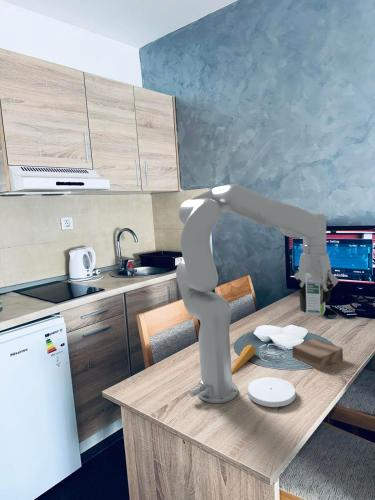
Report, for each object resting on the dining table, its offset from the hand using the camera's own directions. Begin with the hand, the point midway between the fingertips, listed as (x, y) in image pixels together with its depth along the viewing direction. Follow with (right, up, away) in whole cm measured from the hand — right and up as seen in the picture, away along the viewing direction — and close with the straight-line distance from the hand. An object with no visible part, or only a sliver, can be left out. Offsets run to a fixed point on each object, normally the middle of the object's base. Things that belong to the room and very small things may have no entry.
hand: (315, 299), depth 124 cm
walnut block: (+2, -23, +3) cm, 23 cm away
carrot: (-26, -25, +4) cm, 36 cm away
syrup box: (0, -5, +1) cm, 5 cm away
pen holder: (+18, -14, +58) cm, 62 cm away
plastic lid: (-20, -27, -17) cm, 38 cm away
